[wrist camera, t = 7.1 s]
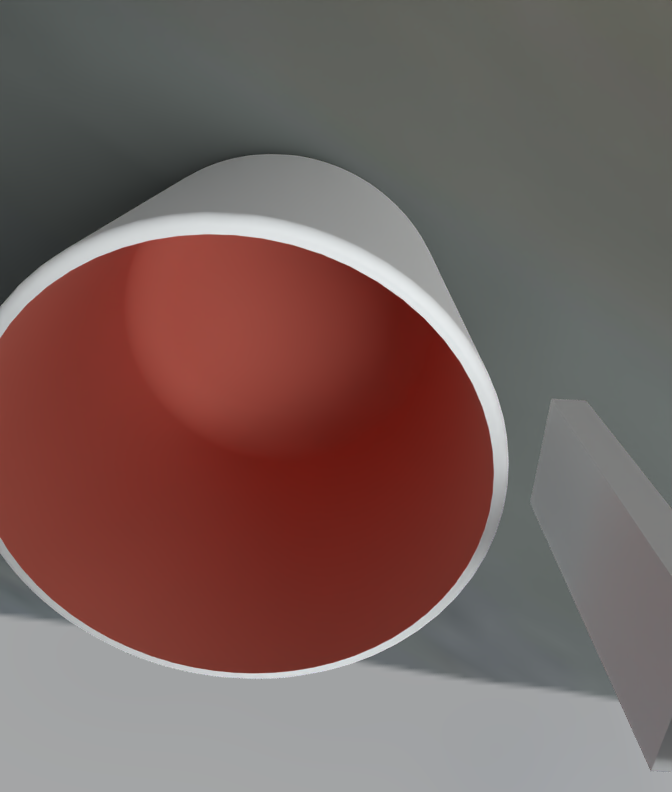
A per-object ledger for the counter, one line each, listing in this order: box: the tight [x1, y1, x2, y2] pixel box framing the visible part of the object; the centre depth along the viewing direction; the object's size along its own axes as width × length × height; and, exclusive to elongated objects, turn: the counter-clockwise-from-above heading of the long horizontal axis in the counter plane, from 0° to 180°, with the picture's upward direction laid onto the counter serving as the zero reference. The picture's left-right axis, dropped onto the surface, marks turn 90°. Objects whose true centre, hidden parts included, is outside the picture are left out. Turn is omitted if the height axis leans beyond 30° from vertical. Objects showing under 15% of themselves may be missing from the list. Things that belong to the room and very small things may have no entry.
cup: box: [0, 154, 509, 679], centre depth 16 cm, size 10×10×10 cm
